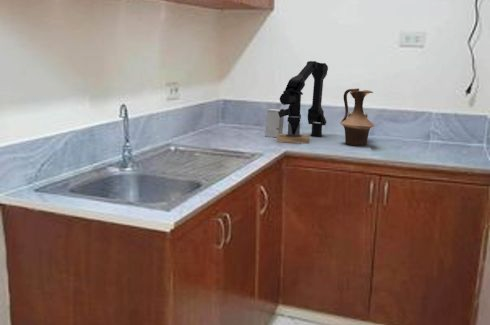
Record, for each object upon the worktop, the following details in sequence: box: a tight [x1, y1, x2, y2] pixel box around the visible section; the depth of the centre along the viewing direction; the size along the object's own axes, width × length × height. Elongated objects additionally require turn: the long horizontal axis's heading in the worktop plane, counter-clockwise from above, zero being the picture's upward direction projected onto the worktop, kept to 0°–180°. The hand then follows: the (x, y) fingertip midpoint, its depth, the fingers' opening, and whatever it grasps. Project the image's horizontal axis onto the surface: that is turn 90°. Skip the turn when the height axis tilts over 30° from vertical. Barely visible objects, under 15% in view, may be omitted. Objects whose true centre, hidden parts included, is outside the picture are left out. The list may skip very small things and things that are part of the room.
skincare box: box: [264, 108, 285, 138], centre depth 273 cm, size 8×6×15 cm
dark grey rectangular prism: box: [287, 122, 301, 137], centre depth 260 cm, size 4×6×7 cm, turn 82°
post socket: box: [276, 132, 310, 144], centre depth 261 cm, size 14×16×2 cm
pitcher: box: [339, 88, 376, 147], centre depth 252 cm, size 18×17×28 cm
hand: (293, 133), depth 261 cm, fingers closed on dark grey rectangular prism, 4 cm apart
